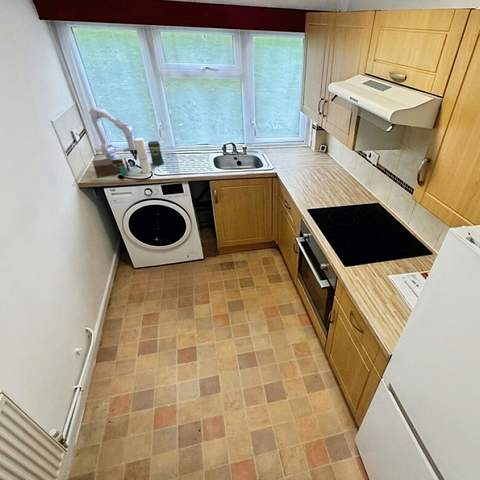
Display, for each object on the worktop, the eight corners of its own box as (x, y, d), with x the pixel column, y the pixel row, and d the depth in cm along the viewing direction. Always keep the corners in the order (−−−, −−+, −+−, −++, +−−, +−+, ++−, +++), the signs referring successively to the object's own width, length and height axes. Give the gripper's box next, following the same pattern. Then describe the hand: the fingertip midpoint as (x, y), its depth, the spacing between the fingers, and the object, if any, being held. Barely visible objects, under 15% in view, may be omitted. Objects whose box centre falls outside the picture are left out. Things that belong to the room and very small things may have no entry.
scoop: (127, 173, 240) (123, 161, 234) (128, 175, 237) (124, 163, 231) (115, 175, 236) (111, 163, 230) (116, 177, 233) (112, 165, 227)
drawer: (132, 165, 252) (130, 157, 248) (135, 170, 243) (132, 162, 239) (111, 168, 246) (108, 160, 241) (113, 173, 237) (110, 165, 232)
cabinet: (114, 168, 247) (111, 158, 242) (116, 174, 238) (112, 163, 232) (96, 171, 242) (92, 160, 237) (97, 177, 232) (93, 166, 227)
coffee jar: (163, 161, 264) (159, 139, 252) (164, 164, 258) (159, 142, 246) (152, 162, 261) (147, 140, 250) (152, 165, 255) (147, 143, 244)
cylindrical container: (152, 169, 248) (144, 138, 232) (149, 172, 242) (141, 140, 227) (144, 169, 248) (135, 137, 232) (140, 172, 242) (132, 140, 227)
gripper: (122, 144, 231) (127, 162, 239) (141, 142, 236) (145, 159, 245) (121, 142, 235) (126, 159, 244) (140, 140, 241) (144, 157, 250)
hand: (135, 159), depth 245 cm, fingers closed
